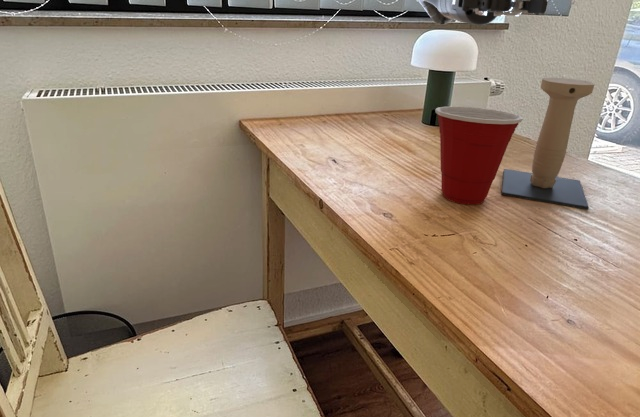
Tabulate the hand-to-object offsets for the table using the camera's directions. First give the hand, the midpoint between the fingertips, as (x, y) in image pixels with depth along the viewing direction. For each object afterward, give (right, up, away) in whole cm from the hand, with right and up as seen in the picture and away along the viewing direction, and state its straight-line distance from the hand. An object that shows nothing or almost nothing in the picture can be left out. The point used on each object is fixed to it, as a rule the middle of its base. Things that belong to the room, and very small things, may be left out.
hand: (519, 5), depth 77 cm
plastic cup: (-12, -30, -9) cm, 34 cm away
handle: (+1, -29, -5) cm, 29 cm away
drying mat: (+1, -29, -5) cm, 29 cm away
